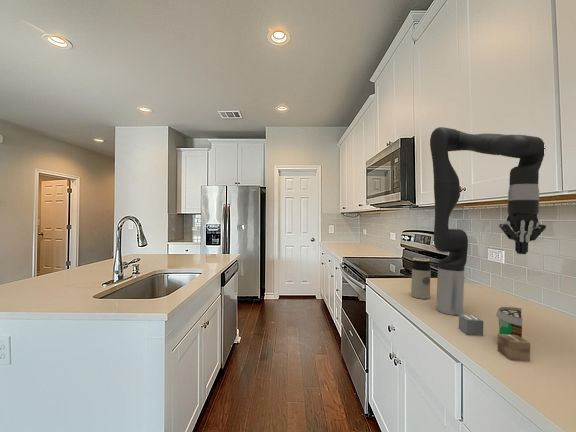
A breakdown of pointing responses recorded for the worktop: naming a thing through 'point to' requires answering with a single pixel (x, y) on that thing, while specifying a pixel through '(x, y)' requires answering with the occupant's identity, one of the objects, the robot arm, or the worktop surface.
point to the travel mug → (421, 278)
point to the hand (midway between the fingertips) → (521, 253)
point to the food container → (510, 321)
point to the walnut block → (513, 347)
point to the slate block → (471, 325)
